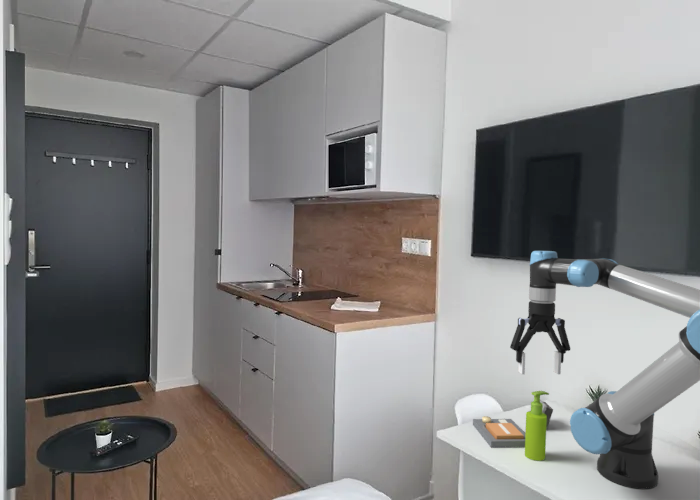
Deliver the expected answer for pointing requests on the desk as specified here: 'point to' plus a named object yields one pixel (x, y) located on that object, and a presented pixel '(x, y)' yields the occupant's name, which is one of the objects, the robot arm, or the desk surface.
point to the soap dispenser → (536, 429)
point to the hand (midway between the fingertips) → (539, 373)
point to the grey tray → (493, 443)
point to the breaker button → (504, 431)
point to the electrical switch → (547, 412)
